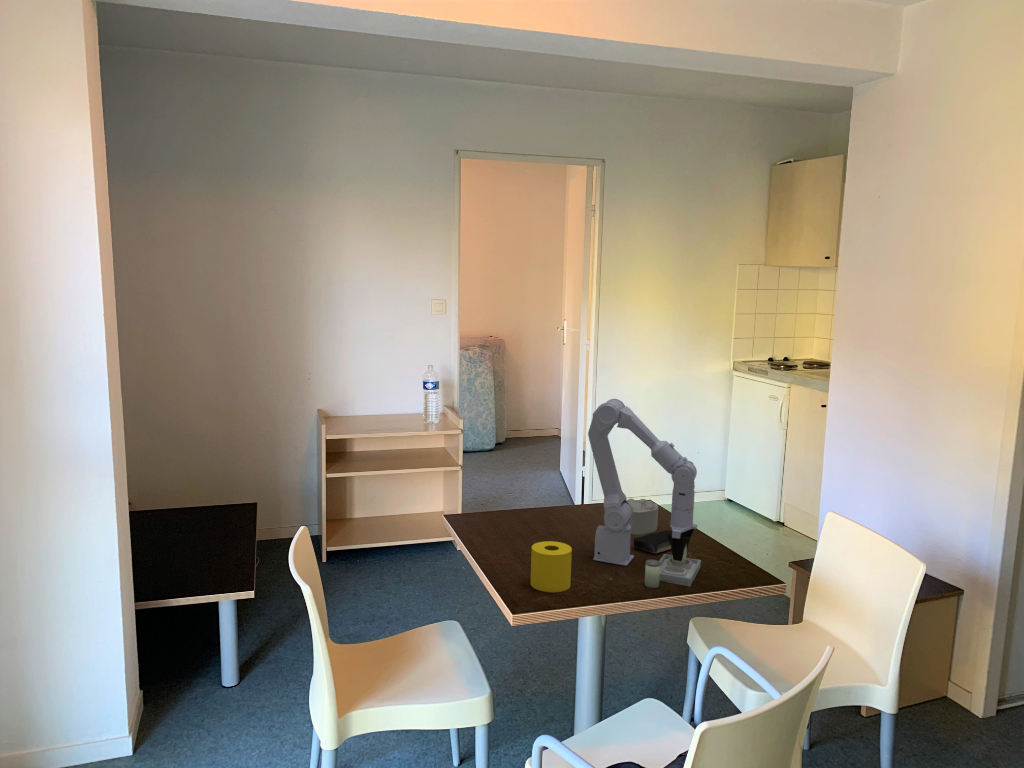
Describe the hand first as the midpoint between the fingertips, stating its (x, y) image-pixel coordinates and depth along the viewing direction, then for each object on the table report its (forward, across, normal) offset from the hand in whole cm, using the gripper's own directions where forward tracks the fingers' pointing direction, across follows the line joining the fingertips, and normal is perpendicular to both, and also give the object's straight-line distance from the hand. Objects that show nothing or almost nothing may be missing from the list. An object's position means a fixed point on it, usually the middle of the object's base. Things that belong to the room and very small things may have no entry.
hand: (679, 556), depth 201 cm
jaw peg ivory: (+2, 0, 0) cm, 2 cm away
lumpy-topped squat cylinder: (+4, +30, +18) cm, 35 cm away
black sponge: (+4, +15, +8) cm, 18 cm away
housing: (+3, -3, 0) cm, 5 cm away
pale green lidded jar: (+3, -14, +4) cm, 15 cm away
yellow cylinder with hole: (+4, -26, +27) cm, 38 cm away
